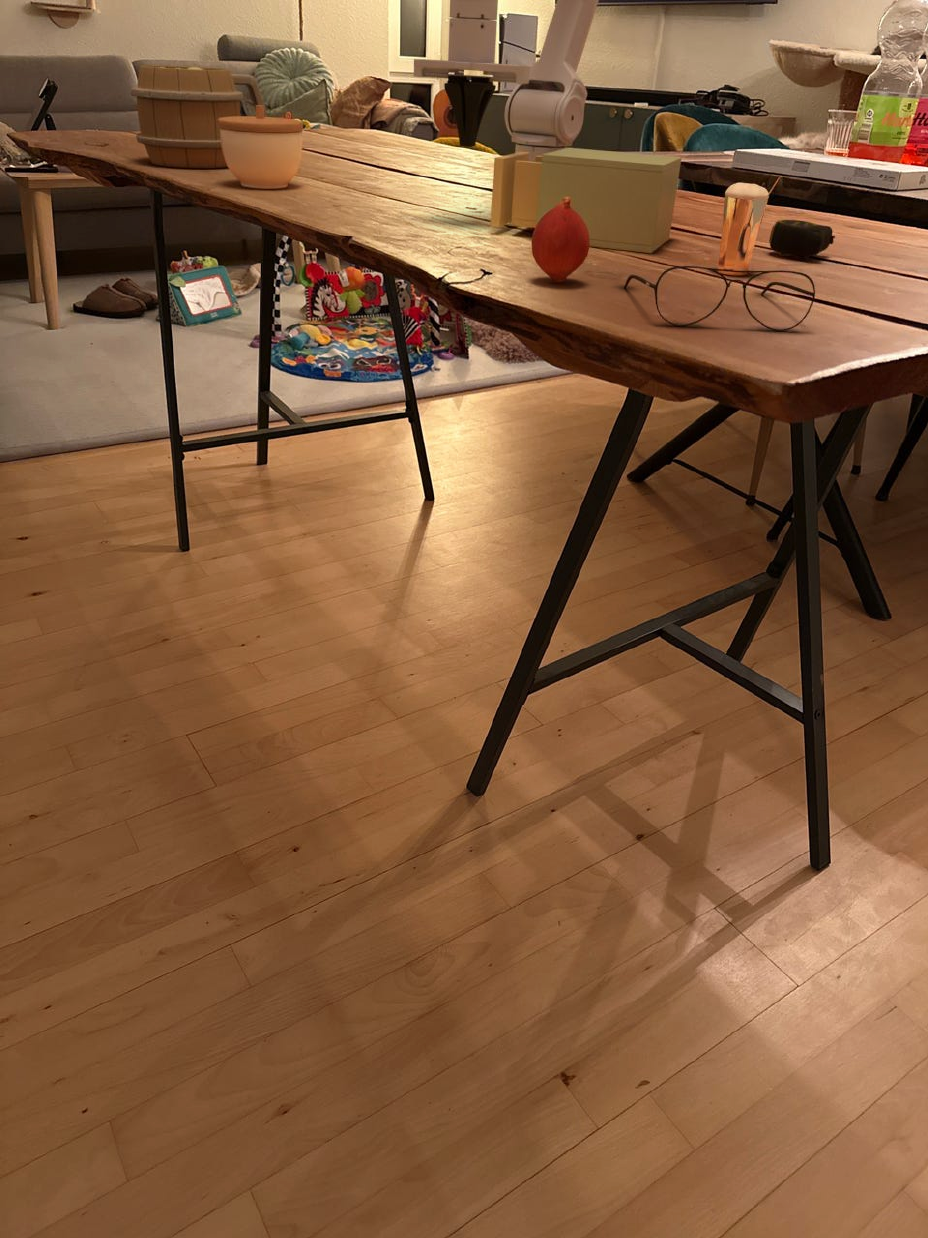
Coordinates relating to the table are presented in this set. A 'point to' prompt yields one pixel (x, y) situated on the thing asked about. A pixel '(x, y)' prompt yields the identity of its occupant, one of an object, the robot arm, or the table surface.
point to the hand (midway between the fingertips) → (467, 145)
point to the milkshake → (741, 225)
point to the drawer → (515, 190)
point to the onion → (560, 241)
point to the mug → (188, 112)
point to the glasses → (729, 286)
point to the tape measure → (800, 238)
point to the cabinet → (613, 195)
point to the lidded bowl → (261, 149)
